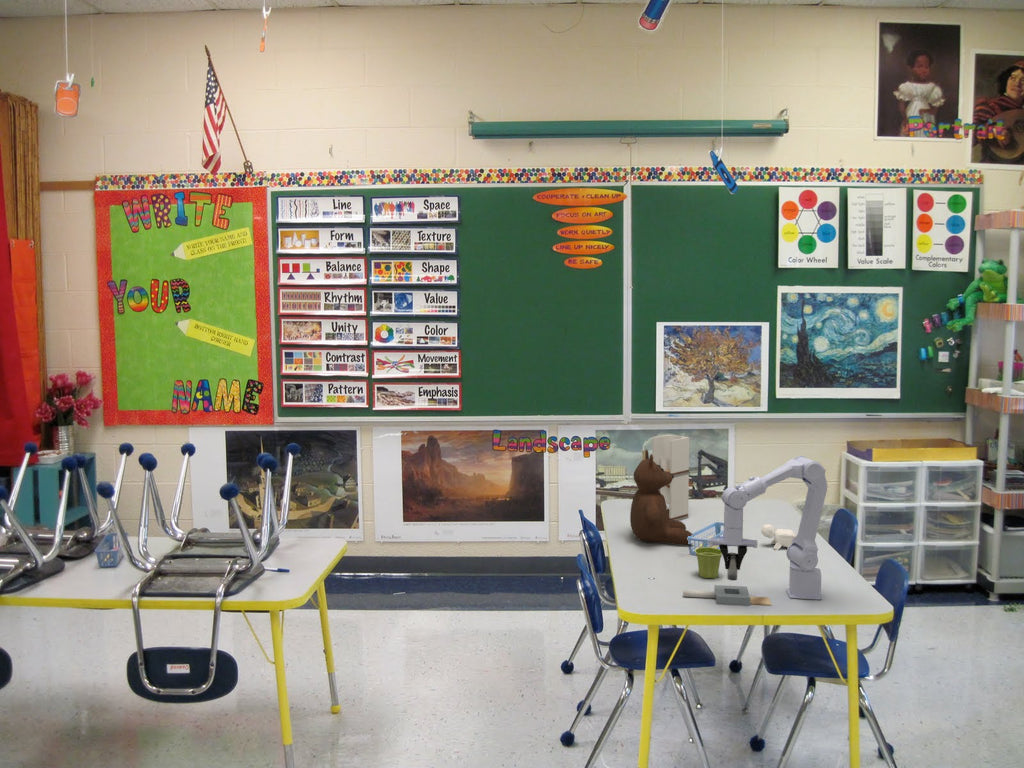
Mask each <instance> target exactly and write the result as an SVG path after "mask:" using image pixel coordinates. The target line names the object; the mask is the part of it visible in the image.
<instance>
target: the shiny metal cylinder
mask: <svg viewBox="0 0 1024 768" xmlns="http://www.w3.org/2000/svg"><path fill="white" fill-rule="evenodd" d="M737 567H738V552H737V553H736V552H728V569H727V577H726V578H727V580H729V581H737V580H738V569H737Z"/></svg>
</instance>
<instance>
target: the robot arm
mask: <svg viewBox="0 0 1024 768" xmlns="http://www.w3.org/2000/svg"><path fill="white" fill-rule="evenodd" d="M826 471H827V470H826V469H825V468H824V466H823V465H822V464H821V463H820V462H818V461H816V460H812V459H810V458H808V457H806V456H803V455H799V456H796V457H794V458H791V459H789V460H788V461H787V462H786V463H784V464H783V465H781V466H779V467H777V468H776V469H773V471H771V472H769V473H767V474H766V475H764V476H762V477H759V476H756V475H755V476H752V475H751V476H750V477H748V480H746V481H743V482H741V483H740V484H739V483H737V484H735V486H734V487H727V488H725V490H724V491H723V492H722V495H721V496H720V499H721V501H722V502H723V504H724V507H723V508H724V509H723V511H724V512H723V517H724V518H723V537H709V538H708V544H709V545H708V546H709V547H713V546H716V547H717V546H718V547H719V549H720V550H721V553H722V557H723V561H724V568H725V570H728V553H729V547H737V554H738V567H737V571H739V570H741V565H742V562H743V560H744V558H745V556H746V555H747V552H748V548H754V549H758V540H757V539H748V538H744V537H743V535H744V533H743V532H744V507H745V506H746V505H747V503H748V502H750V501H752V500H753V499H755V498H757V497H759V496H761V495H763V494H765V493H766V491H767V488H769V487H771V486H774V485H776V484H778V483H780V482H783V481H784V480H786V479H790V478H794V479H800V480H802V481H803V483H804V485H806V487H807V492H806V496H805V501H804V505H803V506H804V507H803V510H802V513H801V519H800V523H799V527H798V530H797V536H796V537H794V538H793V539H792V543H791V545H790V546H789V547H788V548H787V549H786V557H787V559H788V560H789V580H788V581H789V582H788V583H789V584H788V586H789V587H786V588H785V590H786V593H787V596H789V597H788V598H790V599H802V600H821V599H822V572H821V569H820V568H816V567H817V566H818V564H819V557H818V551H819V548H818V545H817V542H816V537H817V532H818V531H819V530H818V528H819V526H820V521H821V516H822V512H823V508H824V504H825V500H826V494H827V491H828V483H827V478H826V477H827V476H826Z"/></svg>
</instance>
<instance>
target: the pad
mask: <svg viewBox="0 0 1024 768" xmlns="http://www.w3.org/2000/svg"><path fill="white" fill-rule="evenodd" d="M749 596H750V595H749ZM752 605H753V606H770V607H771V606H772V602H771V600H770V597H769V596H768V597H767V596H766V597H765V596H750V606H752Z"/></svg>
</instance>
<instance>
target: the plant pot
mask: <svg viewBox="0 0 1024 768" xmlns="http://www.w3.org/2000/svg"><path fill="white" fill-rule="evenodd" d="M694 552H695V556H696V558H697V565H698V572H699V573H698V574H699V576H700V578H704V579H709V578H711V579H716V578H718V576H719V570H720V564H721V559H722V557H723V555H722V553H721V550H720V548H717V547H712V546H709V547H708V546H704V547H698V548H695V549H694Z"/></svg>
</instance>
